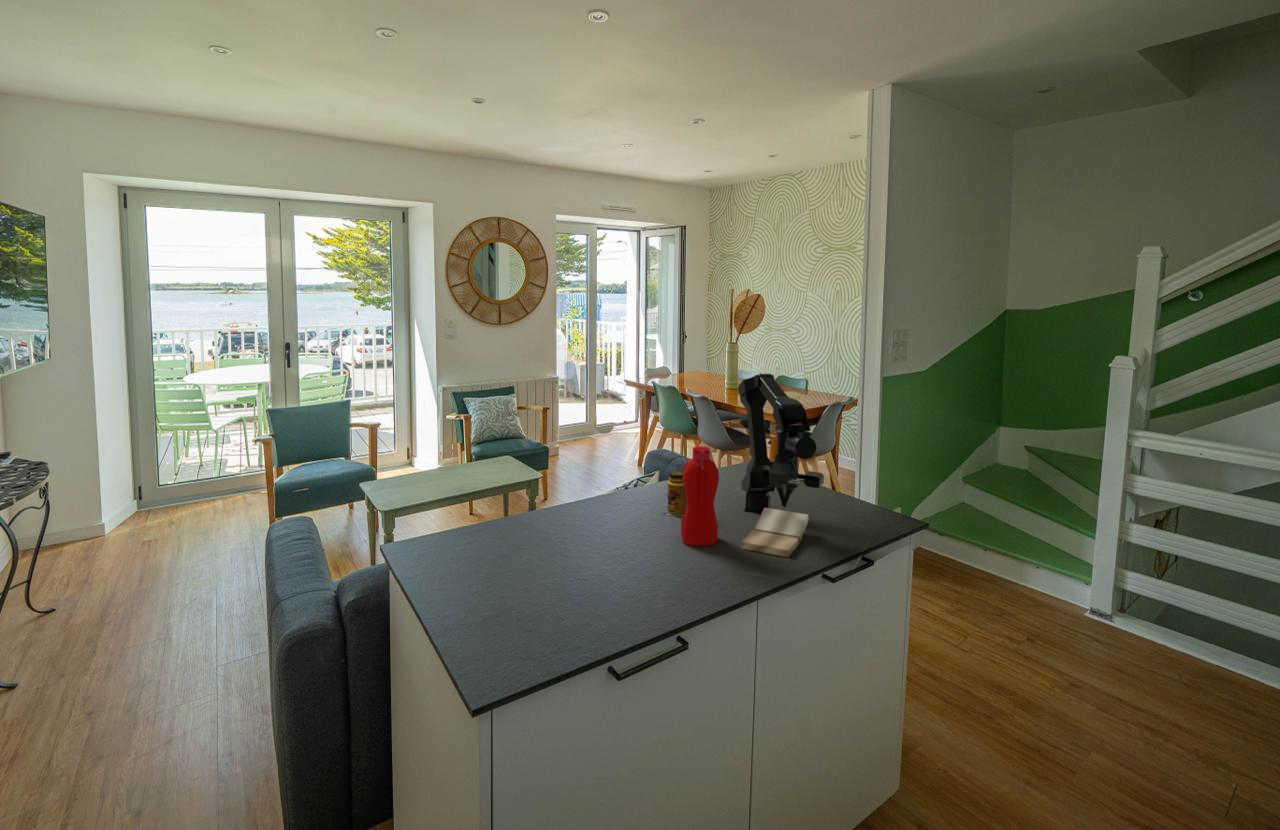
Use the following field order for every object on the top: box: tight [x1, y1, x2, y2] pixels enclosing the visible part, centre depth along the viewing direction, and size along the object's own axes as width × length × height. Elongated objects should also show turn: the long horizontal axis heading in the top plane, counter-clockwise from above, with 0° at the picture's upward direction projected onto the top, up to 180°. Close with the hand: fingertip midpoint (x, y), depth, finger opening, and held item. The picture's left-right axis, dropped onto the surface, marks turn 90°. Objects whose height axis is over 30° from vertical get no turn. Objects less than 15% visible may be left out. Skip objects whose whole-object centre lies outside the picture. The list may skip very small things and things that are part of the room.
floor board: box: [740, 528, 800, 558], centre depth 165 cm, size 12×10×2 cm
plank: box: [754, 508, 810, 543], centre depth 173 cm, size 12×9×2 cm
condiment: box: [665, 470, 686, 517], centre depth 191 cm, size 7×8×12 cm
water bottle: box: [680, 446, 720, 547], centre depth 166 cm, size 9×11×25 cm
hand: (784, 506), depth 175 cm, fingers closed
